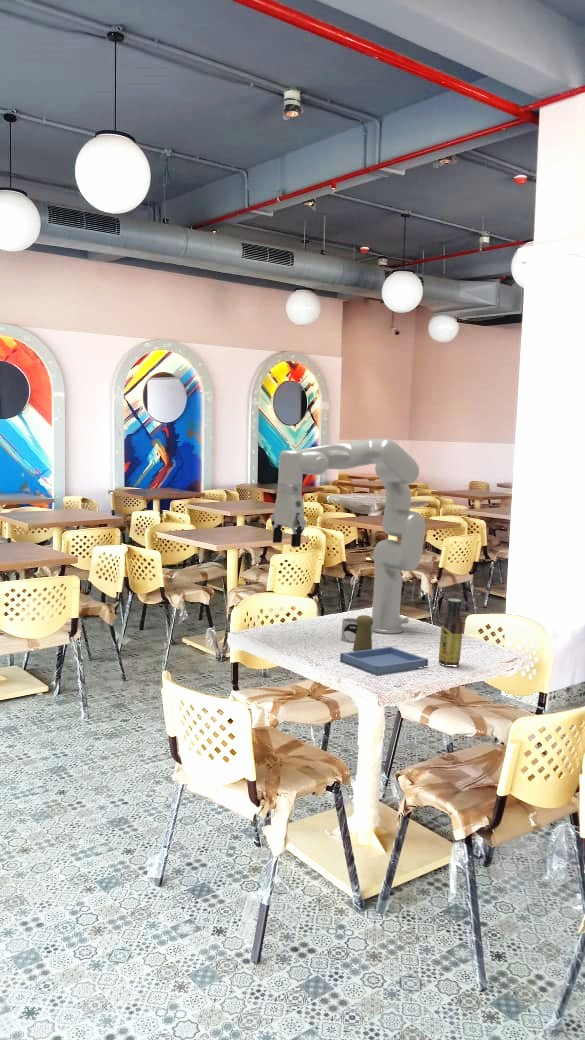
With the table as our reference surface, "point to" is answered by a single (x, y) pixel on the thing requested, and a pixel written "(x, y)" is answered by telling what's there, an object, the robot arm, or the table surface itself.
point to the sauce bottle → (451, 634)
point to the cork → (363, 633)
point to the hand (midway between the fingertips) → (286, 544)
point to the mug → (349, 630)
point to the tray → (383, 660)
